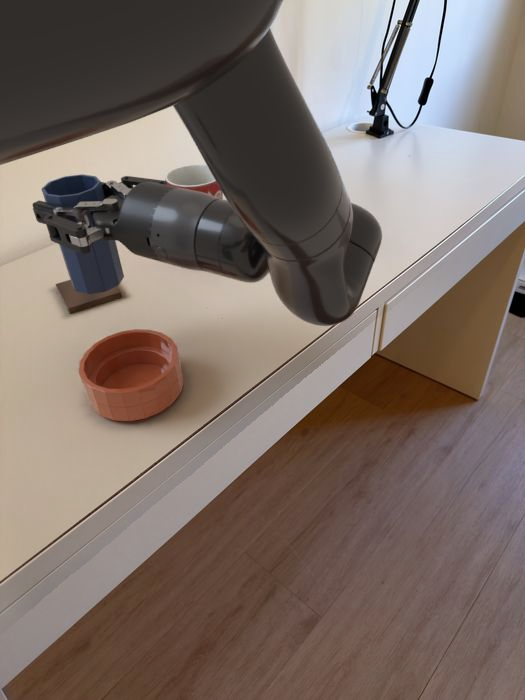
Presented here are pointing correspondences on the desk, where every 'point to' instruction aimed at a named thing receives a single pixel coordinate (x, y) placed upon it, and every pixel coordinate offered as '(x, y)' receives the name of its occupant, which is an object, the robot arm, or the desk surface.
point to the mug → (194, 179)
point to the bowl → (132, 374)
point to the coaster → (84, 297)
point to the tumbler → (103, 261)
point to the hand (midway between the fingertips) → (61, 199)
